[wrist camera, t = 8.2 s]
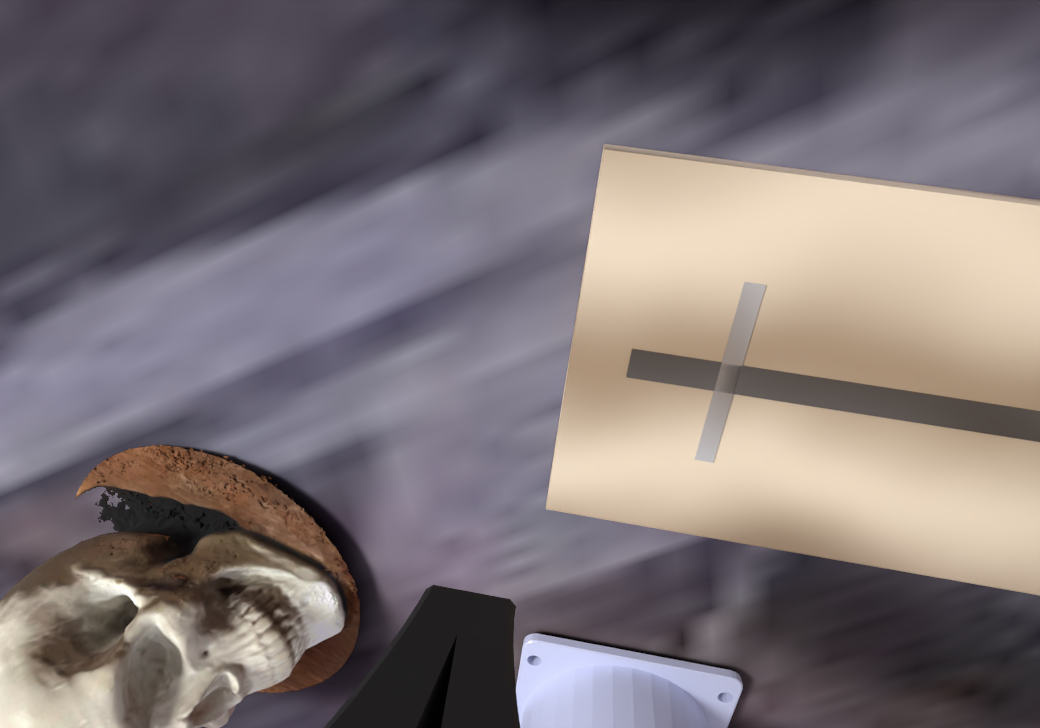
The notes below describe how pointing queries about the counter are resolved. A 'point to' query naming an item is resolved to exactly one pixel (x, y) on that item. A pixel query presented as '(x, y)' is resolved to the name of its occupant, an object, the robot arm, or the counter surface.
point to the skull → (176, 602)
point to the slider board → (809, 366)
